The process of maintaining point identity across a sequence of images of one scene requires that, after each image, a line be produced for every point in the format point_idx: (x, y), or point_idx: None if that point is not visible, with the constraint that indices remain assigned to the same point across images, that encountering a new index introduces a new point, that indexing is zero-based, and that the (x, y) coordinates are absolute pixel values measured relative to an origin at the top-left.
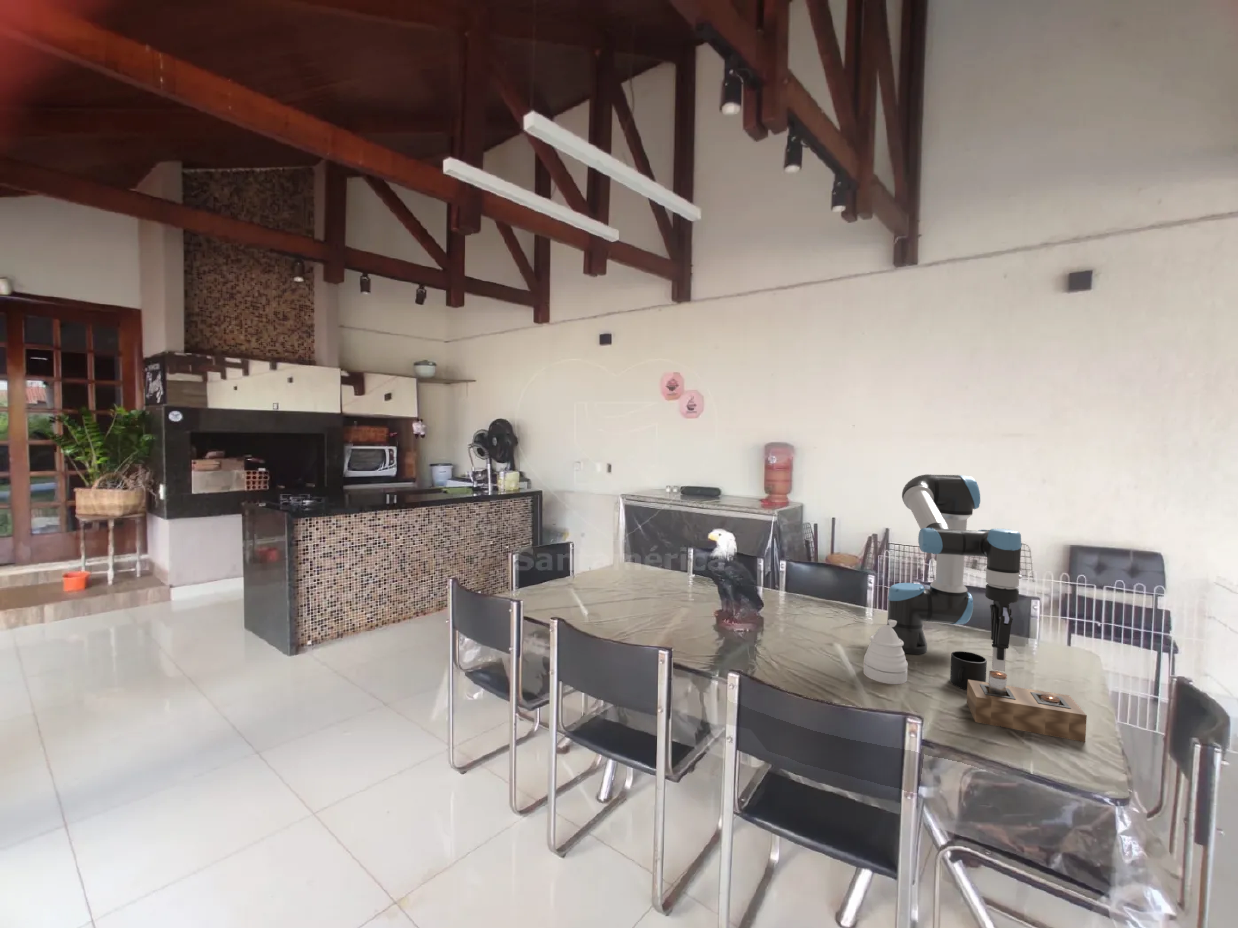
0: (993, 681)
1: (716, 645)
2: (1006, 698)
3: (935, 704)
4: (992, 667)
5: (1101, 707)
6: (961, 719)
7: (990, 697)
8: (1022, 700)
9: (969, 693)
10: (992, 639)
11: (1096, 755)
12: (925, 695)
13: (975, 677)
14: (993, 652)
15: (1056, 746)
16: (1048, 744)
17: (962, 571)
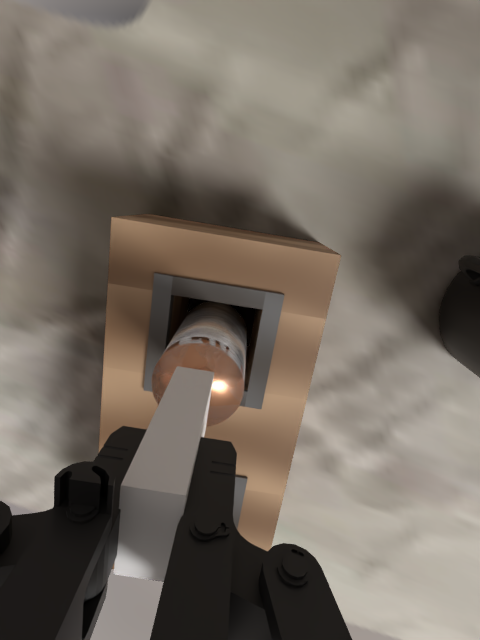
0: (174, 337)
1: None
2: (146, 355)
3: (270, 91)
4: (197, 372)
5: (372, 628)
6: (153, 164)
7: (129, 286)
8: (146, 412)
9: (277, 240)
10: (266, 553)
11: (52, 482)
12: (360, 69)
13: (470, 335)
14: (161, 440)
15: (63, 407)
16: (67, 391)
17: None
